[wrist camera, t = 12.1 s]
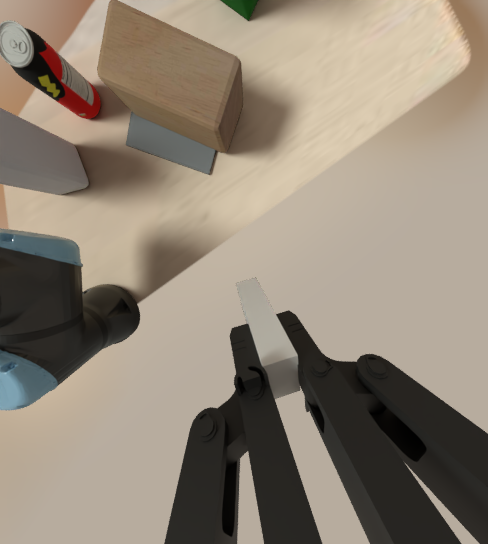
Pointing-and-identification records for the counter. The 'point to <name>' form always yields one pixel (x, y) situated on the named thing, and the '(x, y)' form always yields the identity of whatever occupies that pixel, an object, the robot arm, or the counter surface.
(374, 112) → the counter surface
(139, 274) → the counter surface
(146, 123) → the mat
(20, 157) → the soap bottle
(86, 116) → the beverage can
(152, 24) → the block
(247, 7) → the milk carton
